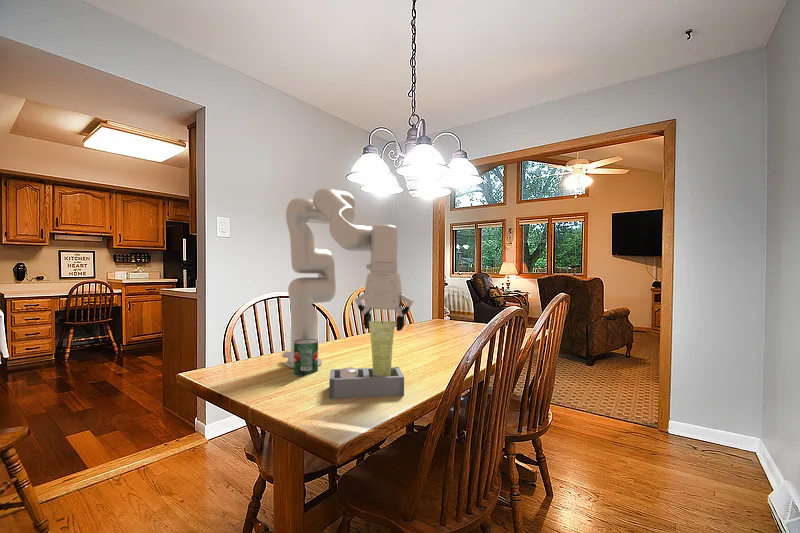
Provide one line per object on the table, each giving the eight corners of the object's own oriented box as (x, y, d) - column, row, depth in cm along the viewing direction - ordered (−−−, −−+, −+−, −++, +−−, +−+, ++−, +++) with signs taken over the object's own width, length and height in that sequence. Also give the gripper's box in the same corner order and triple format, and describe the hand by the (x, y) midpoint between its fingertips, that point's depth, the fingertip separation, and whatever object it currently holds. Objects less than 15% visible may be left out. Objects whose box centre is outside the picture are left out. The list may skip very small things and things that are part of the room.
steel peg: (336, 393, 106) (336, 371, 106) (344, 387, 111) (344, 367, 111) (353, 395, 104) (353, 373, 104) (360, 389, 109) (360, 368, 109)
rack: (329, 402, 102) (329, 379, 102) (330, 389, 112) (330, 369, 112) (404, 399, 105) (404, 377, 105) (398, 387, 115) (398, 367, 115)
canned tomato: (289, 373, 129) (289, 340, 128) (310, 369, 134) (310, 337, 134) (300, 378, 123) (301, 344, 123) (322, 374, 128) (322, 341, 128)
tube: (385, 385, 113) (384, 319, 113) (396, 389, 109) (395, 320, 109) (369, 389, 110) (368, 320, 110) (380, 393, 106) (379, 322, 106)
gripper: (350, 268, 108) (350, 329, 108) (409, 269, 103) (408, 333, 103) (361, 268, 115) (361, 325, 115) (417, 269, 110) (416, 328, 110)
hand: (383, 329), depth 109 cm, fingers open, 9 cm apart
